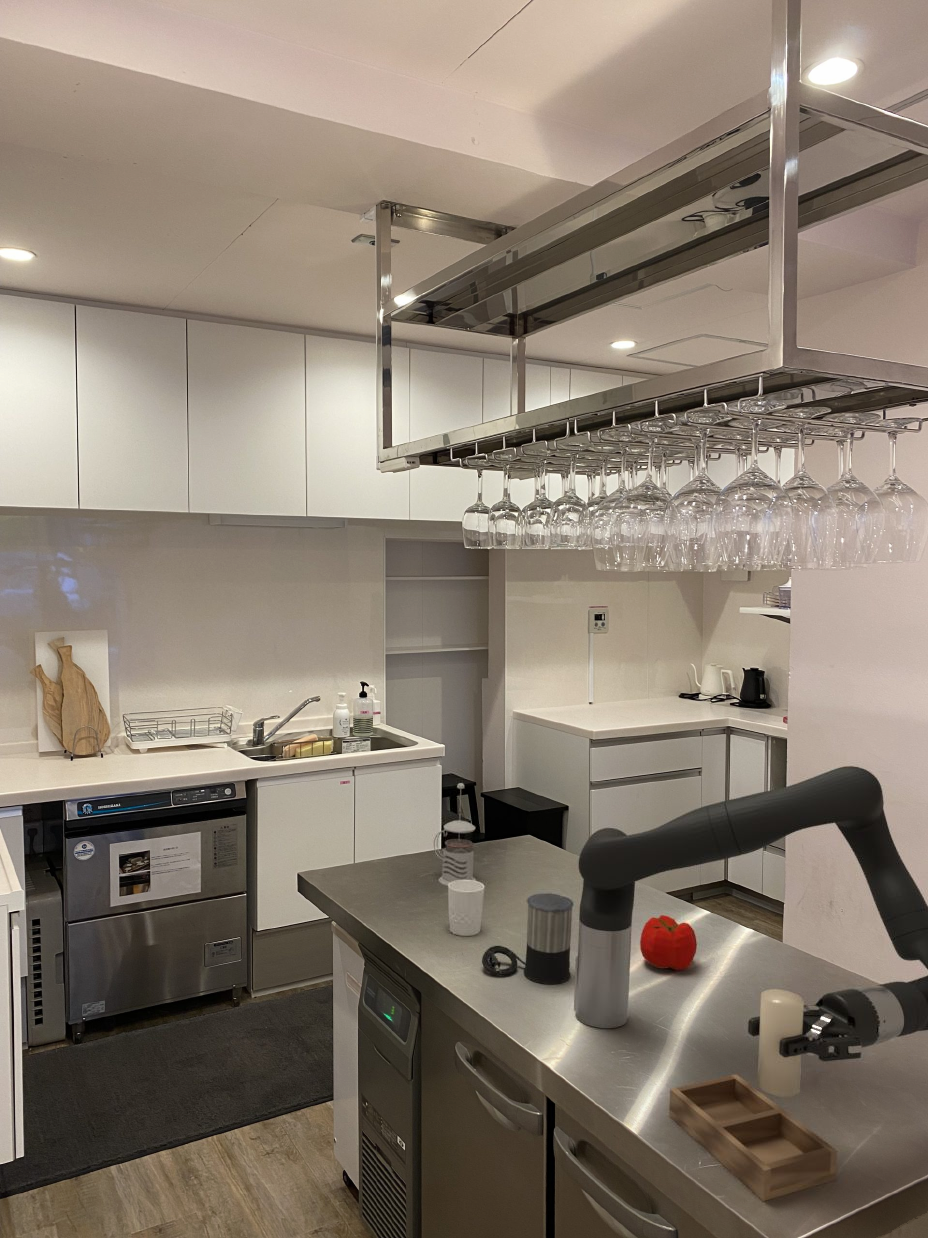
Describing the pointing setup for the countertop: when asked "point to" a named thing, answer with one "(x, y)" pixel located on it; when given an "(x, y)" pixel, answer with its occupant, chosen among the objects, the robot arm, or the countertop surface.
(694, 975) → the countertop surface
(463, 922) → the white cup
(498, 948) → the milk frother
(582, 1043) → the countertop surface
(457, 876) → the french press
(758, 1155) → the wooden divided tray
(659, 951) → the tomato
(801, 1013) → the cream pillar candle
